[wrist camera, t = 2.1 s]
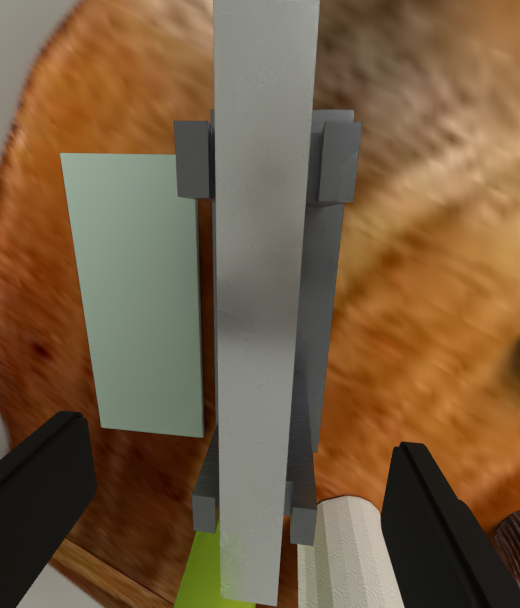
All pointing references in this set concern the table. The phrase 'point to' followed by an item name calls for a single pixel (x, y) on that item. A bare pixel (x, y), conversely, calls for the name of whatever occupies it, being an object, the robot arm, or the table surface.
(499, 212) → the table surface
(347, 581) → the paper towel roll
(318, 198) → the rack
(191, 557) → the soap dispenser
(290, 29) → the rail
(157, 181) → the mat
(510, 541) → the cupcake
